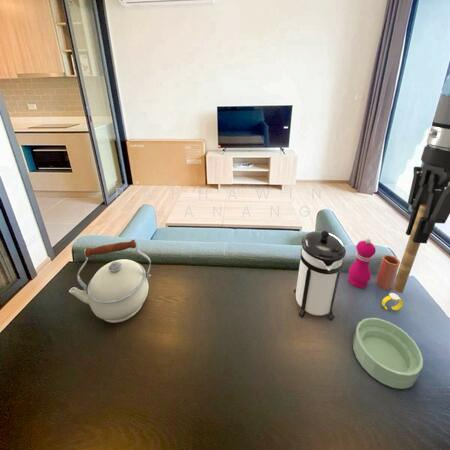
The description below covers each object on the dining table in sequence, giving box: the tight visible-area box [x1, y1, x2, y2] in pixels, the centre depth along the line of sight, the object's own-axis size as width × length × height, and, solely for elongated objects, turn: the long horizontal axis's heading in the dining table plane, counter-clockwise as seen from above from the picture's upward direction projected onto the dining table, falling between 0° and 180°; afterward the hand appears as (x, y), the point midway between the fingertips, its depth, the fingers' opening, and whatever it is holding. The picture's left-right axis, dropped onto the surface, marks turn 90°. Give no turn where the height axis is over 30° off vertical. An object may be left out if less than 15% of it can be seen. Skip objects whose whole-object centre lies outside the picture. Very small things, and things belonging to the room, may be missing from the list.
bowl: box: [352, 317, 424, 390], centre depth 67 cm, size 15×15×6 cm
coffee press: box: [293, 230, 347, 321], centre depth 80 cm, size 17×16×30 cm
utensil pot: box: [375, 254, 401, 291], centre depth 90 cm, size 5×5×12 cm
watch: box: [381, 292, 404, 311], centre depth 82 cm, size 6×3×6 cm, turn 87°
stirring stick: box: [392, 204, 427, 294], centre depth 62 cm, size 2×2×26 cm
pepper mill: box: [347, 238, 376, 289], centre depth 90 cm, size 7×7×20 cm
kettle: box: [68, 239, 152, 324], centre depth 79 cm, size 25×18×25 cm
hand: (415, 238), depth 61 cm, fingers closed on stirring stick, 2 cm apart
